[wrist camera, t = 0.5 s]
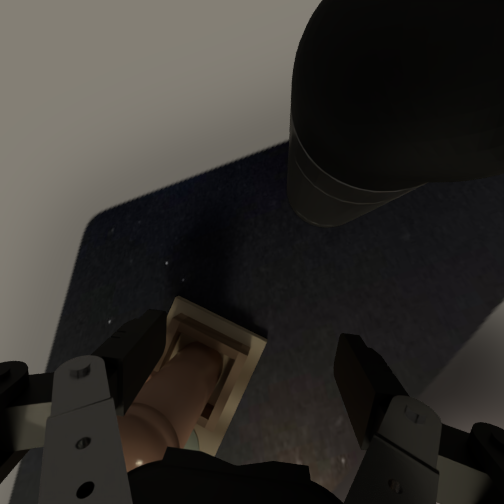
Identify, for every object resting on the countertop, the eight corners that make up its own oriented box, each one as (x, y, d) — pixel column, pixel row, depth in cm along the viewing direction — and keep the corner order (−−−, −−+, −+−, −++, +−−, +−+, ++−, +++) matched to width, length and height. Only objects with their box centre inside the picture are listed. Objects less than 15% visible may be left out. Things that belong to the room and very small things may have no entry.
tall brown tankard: (173, 322, 31) (84, 379, 17) (233, 353, 30) (190, 439, 16) (153, 369, 31) (49, 462, 17) (212, 400, 30) (151, 525, 16)
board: (178, 295, 32) (166, 300, 28) (267, 339, 30) (265, 350, 27) (110, 451, 33) (90, 475, 29) (193, 500, 31) (182, 531, 28)
